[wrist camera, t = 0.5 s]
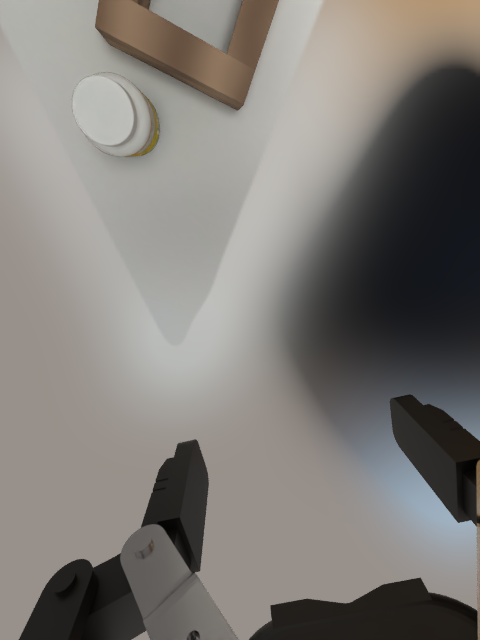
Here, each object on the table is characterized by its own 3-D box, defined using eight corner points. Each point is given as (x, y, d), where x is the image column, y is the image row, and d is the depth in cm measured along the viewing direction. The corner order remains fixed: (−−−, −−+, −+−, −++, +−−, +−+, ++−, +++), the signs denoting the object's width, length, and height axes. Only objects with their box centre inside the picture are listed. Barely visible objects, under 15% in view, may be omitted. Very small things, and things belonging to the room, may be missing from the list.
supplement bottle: (171, 120, 29) (160, 107, 21) (141, 168, 31) (120, 174, 22) (120, 73, 27) (84, 38, 18) (90, 128, 28) (46, 117, 20)
